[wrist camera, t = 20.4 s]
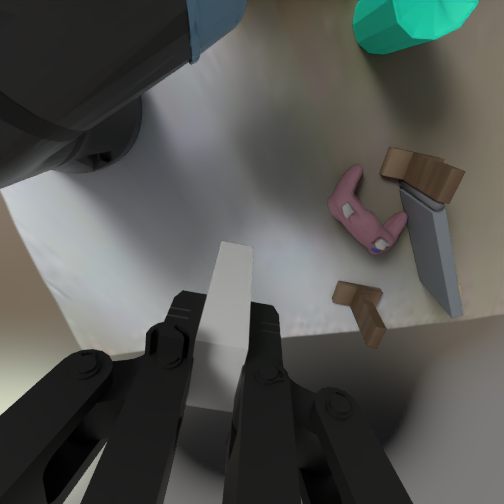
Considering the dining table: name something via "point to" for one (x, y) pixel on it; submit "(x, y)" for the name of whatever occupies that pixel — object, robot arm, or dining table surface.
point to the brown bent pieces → (429, 182)
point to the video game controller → (363, 215)
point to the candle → (406, 22)
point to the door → (432, 247)
